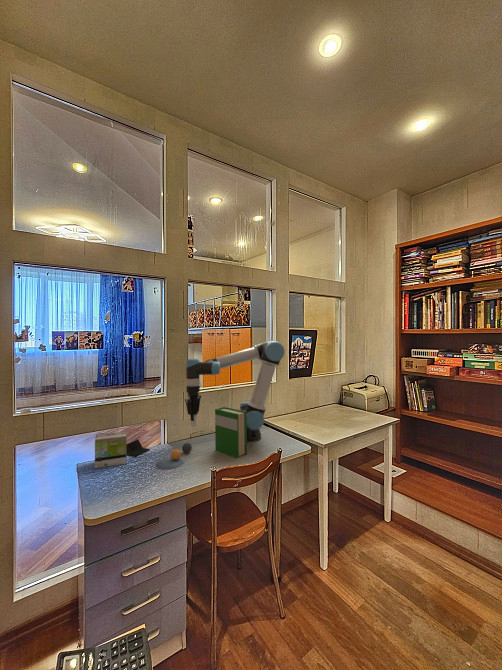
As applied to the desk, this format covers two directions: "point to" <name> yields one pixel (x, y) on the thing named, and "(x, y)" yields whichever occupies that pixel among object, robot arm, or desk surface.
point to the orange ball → (175, 454)
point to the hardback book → (231, 431)
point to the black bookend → (135, 448)
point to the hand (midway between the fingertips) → (193, 425)
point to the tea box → (110, 449)
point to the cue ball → (186, 447)
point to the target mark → (169, 463)
